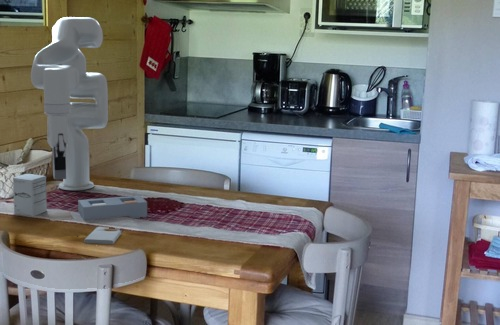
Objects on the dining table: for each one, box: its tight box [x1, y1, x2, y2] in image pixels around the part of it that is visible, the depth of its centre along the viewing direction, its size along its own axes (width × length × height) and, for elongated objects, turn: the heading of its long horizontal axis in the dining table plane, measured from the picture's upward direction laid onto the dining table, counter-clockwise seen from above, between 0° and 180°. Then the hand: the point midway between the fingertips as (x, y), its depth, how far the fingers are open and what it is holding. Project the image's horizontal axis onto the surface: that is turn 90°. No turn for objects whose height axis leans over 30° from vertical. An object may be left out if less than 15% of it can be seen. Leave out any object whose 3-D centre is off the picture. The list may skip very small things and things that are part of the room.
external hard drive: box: [83, 226, 124, 245], centre depth 192 cm, size 2×8×12 cm
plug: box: [51, 145, 66, 181], centre depth 204 cm, size 3×3×11 cm
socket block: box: [77, 194, 148, 221], centre depth 212 cm, size 9×20×5 cm, turn 114°
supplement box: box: [12, 173, 48, 217], centre depth 210 cm, size 7×7×13 cm
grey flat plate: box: [46, 211, 75, 222], centre depth 207 cm, size 8×7×1 cm
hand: (59, 167), depth 205 cm, fingers closed on plug, 3 cm apart
